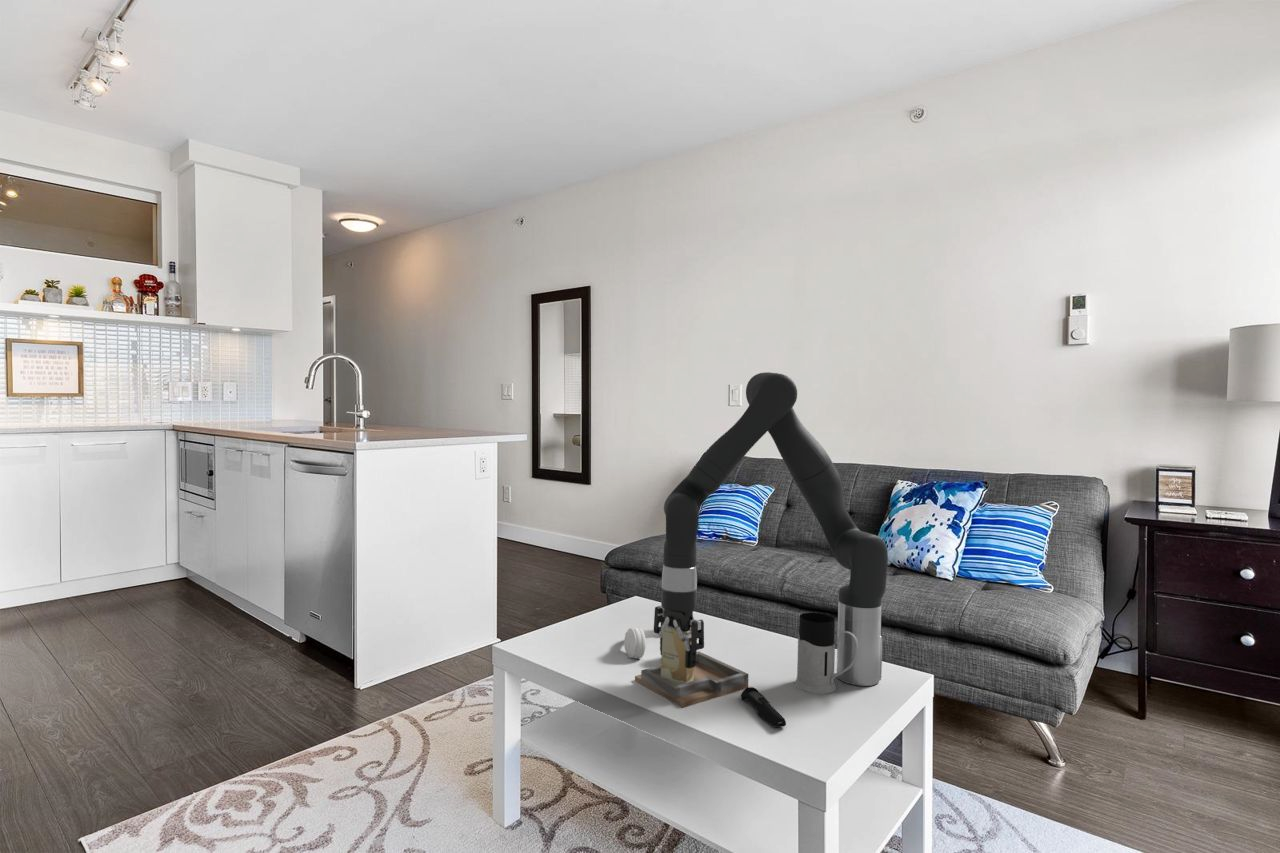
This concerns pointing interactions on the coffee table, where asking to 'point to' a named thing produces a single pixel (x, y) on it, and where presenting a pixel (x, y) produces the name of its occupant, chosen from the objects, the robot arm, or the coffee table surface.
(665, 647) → the skincare box
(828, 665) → the glass holder
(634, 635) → the headphones
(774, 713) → the electric trimmer
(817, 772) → the coffee table surface
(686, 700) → the keyhole board
